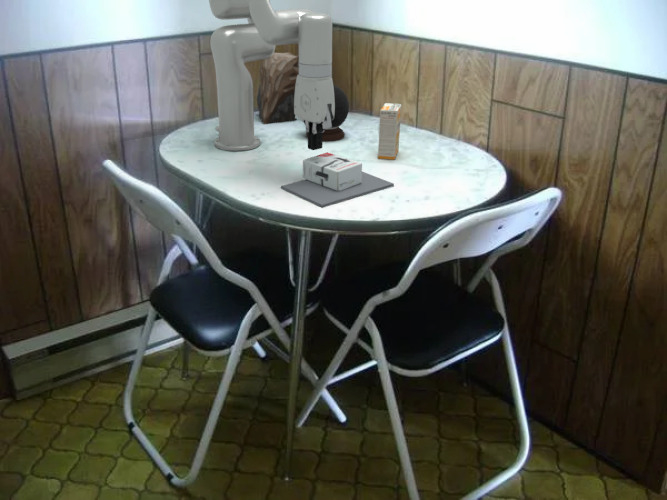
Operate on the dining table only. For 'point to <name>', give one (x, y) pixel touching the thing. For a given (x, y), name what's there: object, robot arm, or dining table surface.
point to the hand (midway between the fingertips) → (315, 148)
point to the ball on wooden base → (337, 117)
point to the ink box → (332, 171)
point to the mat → (329, 196)
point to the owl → (277, 88)
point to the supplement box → (389, 131)
